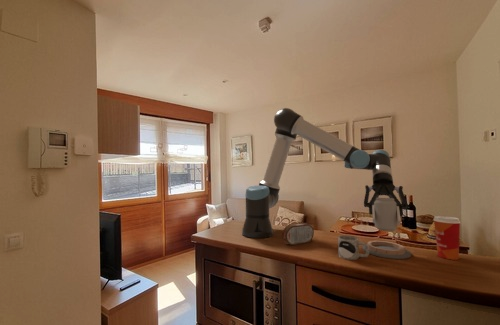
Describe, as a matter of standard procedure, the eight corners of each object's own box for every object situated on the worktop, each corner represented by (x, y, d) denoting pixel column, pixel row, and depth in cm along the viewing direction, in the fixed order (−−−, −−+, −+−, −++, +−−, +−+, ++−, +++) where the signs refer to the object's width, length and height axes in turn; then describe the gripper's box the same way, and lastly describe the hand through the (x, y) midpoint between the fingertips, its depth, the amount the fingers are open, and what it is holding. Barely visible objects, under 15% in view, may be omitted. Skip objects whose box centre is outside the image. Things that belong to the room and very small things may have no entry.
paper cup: (432, 252, 88) (431, 214, 89) (459, 255, 84) (457, 216, 85) (436, 258, 81) (434, 218, 82) (465, 262, 78) (463, 220, 78)
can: (391, 227, 93) (390, 197, 93) (401, 232, 85) (400, 199, 86) (371, 227, 93) (370, 197, 94) (380, 231, 86) (379, 199, 86)
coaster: (356, 251, 88) (356, 245, 88) (368, 242, 100) (368, 237, 100) (407, 262, 78) (407, 255, 78) (414, 250, 89) (413, 244, 90)
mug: (336, 257, 82) (336, 238, 83) (340, 252, 88) (340, 234, 88) (367, 263, 77) (367, 243, 77) (370, 257, 82) (370, 238, 83)
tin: (310, 240, 104) (310, 221, 104) (315, 242, 101) (314, 222, 101) (282, 244, 97) (281, 224, 98) (286, 247, 94) (286, 226, 95)
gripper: (409, 183, 99) (418, 230, 84) (357, 183, 108) (356, 225, 93) (411, 171, 95) (421, 218, 79) (356, 171, 104) (355, 213, 89)
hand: (386, 221), depth 86 cm, fingers closed on can, 7 cm apart
